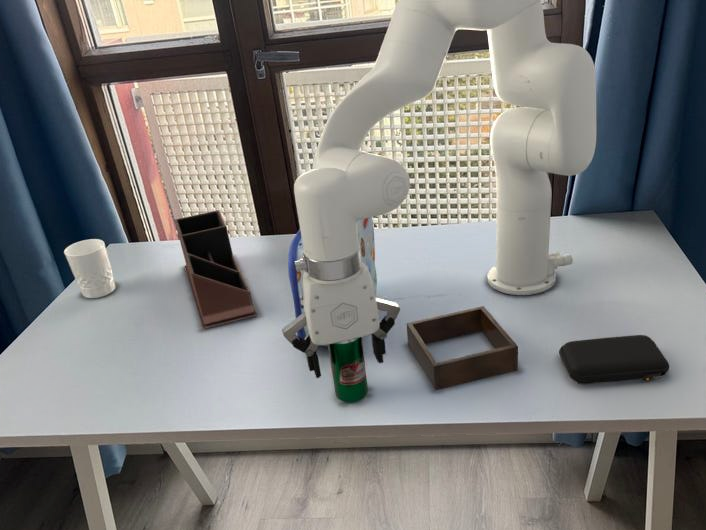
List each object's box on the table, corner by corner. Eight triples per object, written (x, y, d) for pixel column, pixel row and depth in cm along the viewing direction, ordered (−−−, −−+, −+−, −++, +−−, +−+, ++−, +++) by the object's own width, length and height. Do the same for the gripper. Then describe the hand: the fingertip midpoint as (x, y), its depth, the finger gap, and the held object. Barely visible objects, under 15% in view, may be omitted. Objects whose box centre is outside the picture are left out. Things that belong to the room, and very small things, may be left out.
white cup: (72, 298, 145) (55, 254, 140) (97, 280, 151) (82, 237, 146) (101, 301, 143) (86, 257, 137) (126, 283, 149) (112, 240, 143)
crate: (483, 328, 120) (483, 305, 118) (517, 370, 109) (518, 346, 106) (408, 345, 118) (406, 323, 115) (435, 390, 107) (433, 366, 104)
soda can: (344, 409, 105) (334, 341, 98) (330, 392, 109) (320, 326, 102) (374, 397, 107) (366, 330, 100) (359, 381, 111) (350, 316, 104)
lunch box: (333, 283, 139) (318, 175, 127) (384, 283, 137) (374, 174, 125) (294, 361, 117) (271, 239, 105) (354, 363, 115) (338, 239, 103)
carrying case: (573, 394, 103) (675, 385, 102) (574, 377, 101) (678, 368, 100) (555, 354, 112) (649, 345, 111) (556, 338, 110) (651, 329, 109)
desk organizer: (231, 256, 155) (220, 208, 149) (258, 316, 131) (246, 262, 125) (184, 267, 152) (171, 219, 146) (202, 330, 129) (188, 275, 123)
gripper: (275, 287, 91) (295, 393, 100) (402, 260, 94) (410, 365, 103) (267, 263, 97) (287, 365, 107) (386, 239, 100) (396, 340, 109)
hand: (348, 365), depth 105 cm, fingers open, 9 cm apart
